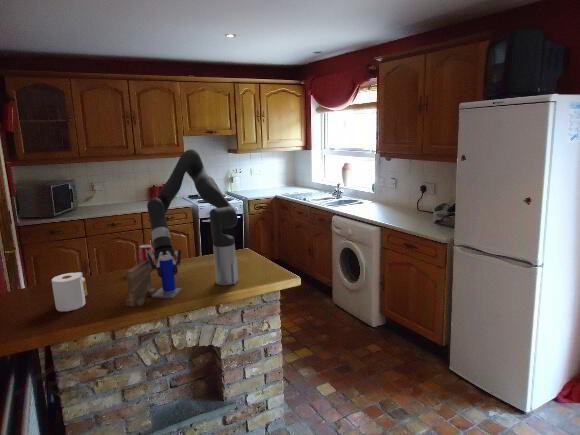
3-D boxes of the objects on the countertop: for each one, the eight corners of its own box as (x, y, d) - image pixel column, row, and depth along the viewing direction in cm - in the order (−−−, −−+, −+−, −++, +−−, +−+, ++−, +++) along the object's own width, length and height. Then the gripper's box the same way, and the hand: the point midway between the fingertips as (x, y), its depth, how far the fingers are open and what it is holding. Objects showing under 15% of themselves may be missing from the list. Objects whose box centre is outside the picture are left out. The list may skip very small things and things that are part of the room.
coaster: (181, 289, 180) (181, 288, 180) (172, 298, 171) (172, 296, 171) (161, 289, 181) (161, 287, 181) (151, 297, 172) (151, 295, 172)
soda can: (158, 267, 211) (155, 243, 208) (152, 271, 204) (149, 247, 201) (144, 267, 211) (141, 243, 209) (138, 271, 205) (135, 247, 202)
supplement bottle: (90, 294, 179) (87, 272, 176) (80, 299, 174) (76, 276, 172) (80, 292, 180) (76, 271, 178) (69, 297, 175) (66, 275, 173)
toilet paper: (50, 308, 165) (45, 279, 162) (75, 299, 174) (71, 271, 171) (66, 313, 160) (61, 283, 157) (91, 303, 169) (87, 274, 166)
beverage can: (178, 289, 178) (174, 254, 175) (170, 293, 173) (166, 258, 170) (168, 287, 180) (164, 253, 177) (160, 292, 176) (156, 257, 172)
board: (156, 292, 178) (153, 260, 175) (140, 306, 164) (136, 271, 161) (143, 292, 179) (139, 260, 176) (125, 305, 165) (121, 271, 162)
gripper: (178, 242, 187) (185, 276, 179) (144, 247, 182) (150, 282, 174) (179, 233, 181) (186, 268, 173) (143, 238, 176) (149, 274, 168)
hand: (168, 275), depth 173 cm, fingers open, 5 cm apart
